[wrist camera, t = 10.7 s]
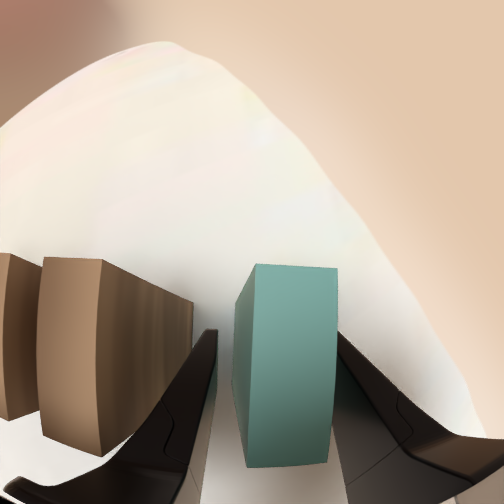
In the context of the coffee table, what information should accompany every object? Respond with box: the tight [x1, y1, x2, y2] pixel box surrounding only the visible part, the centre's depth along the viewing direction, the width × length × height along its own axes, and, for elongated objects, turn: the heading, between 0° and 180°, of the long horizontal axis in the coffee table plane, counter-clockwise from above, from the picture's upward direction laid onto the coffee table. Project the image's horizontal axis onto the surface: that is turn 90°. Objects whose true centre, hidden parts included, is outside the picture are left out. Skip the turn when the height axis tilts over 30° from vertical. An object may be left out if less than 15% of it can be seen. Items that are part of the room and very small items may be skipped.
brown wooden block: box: [0, 253, 42, 421], centre depth 11 cm, size 2×5×11 cm, turn 178°
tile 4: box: [36, 257, 193, 457], centre depth 11 cm, size 2×5×11 cm, turn 179°
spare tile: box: [232, 264, 338, 468], centre depth 11 cm, size 2×5×11 cm, turn 178°
